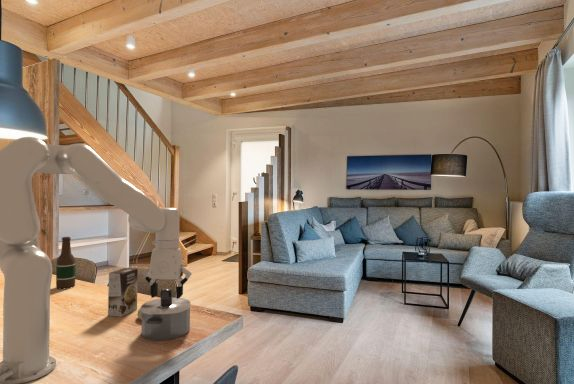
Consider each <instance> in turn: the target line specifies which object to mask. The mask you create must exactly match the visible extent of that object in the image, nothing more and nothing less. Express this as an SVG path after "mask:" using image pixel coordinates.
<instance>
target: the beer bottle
mask: <svg viewBox="0 0 574 384" xmlns="http://www.w3.org/2000/svg"><path fill="white" fill-rule="evenodd" d="M71 240H72V239H71V237H70V236H63V237H61V242H62V243H61V251H60V254H59V256H58V257H57V259H56V264H55V265H56V267H55V268H56V269H55V271H56V272H55V279H56V280H55V287H56V289H58V288H68V289H72V288H74V287H75V286H76V258H75V256H74V254H72V250H71ZM71 287H72V288H71Z"/></svg>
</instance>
